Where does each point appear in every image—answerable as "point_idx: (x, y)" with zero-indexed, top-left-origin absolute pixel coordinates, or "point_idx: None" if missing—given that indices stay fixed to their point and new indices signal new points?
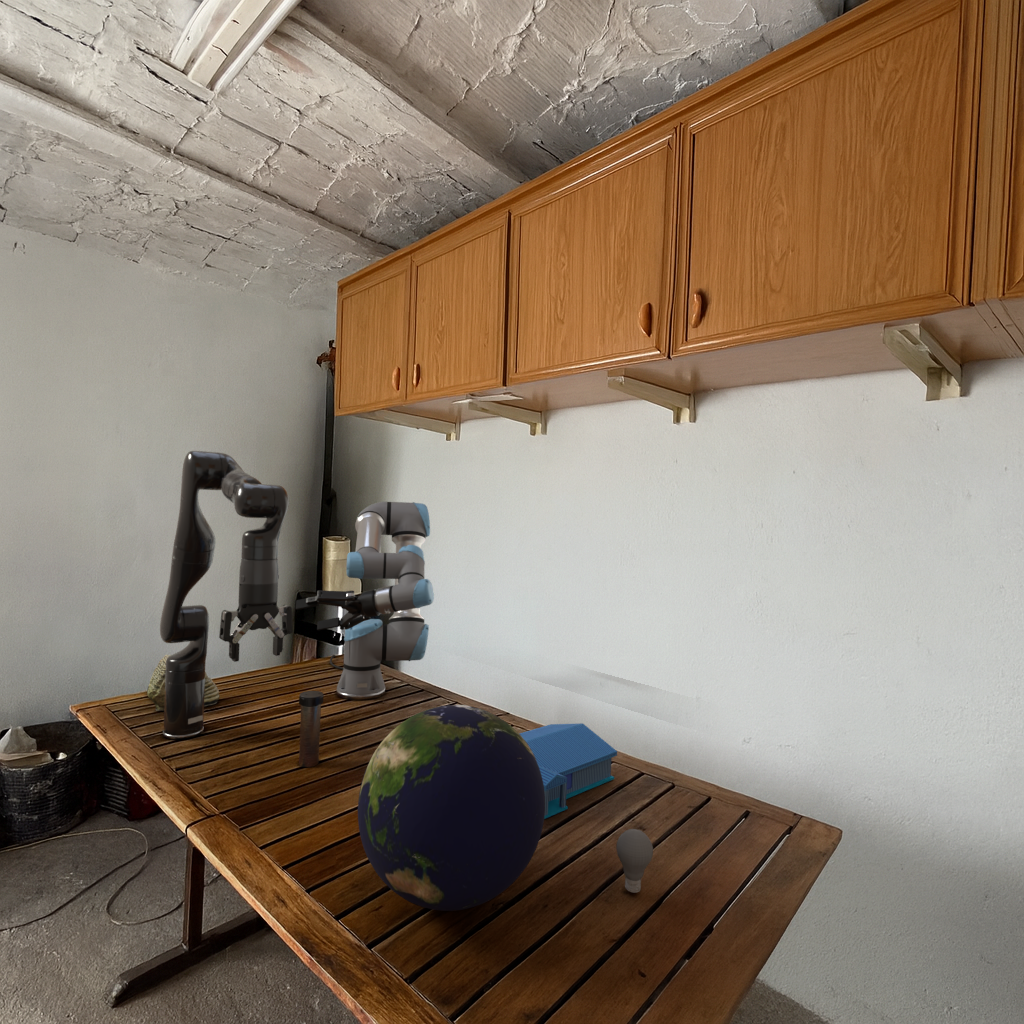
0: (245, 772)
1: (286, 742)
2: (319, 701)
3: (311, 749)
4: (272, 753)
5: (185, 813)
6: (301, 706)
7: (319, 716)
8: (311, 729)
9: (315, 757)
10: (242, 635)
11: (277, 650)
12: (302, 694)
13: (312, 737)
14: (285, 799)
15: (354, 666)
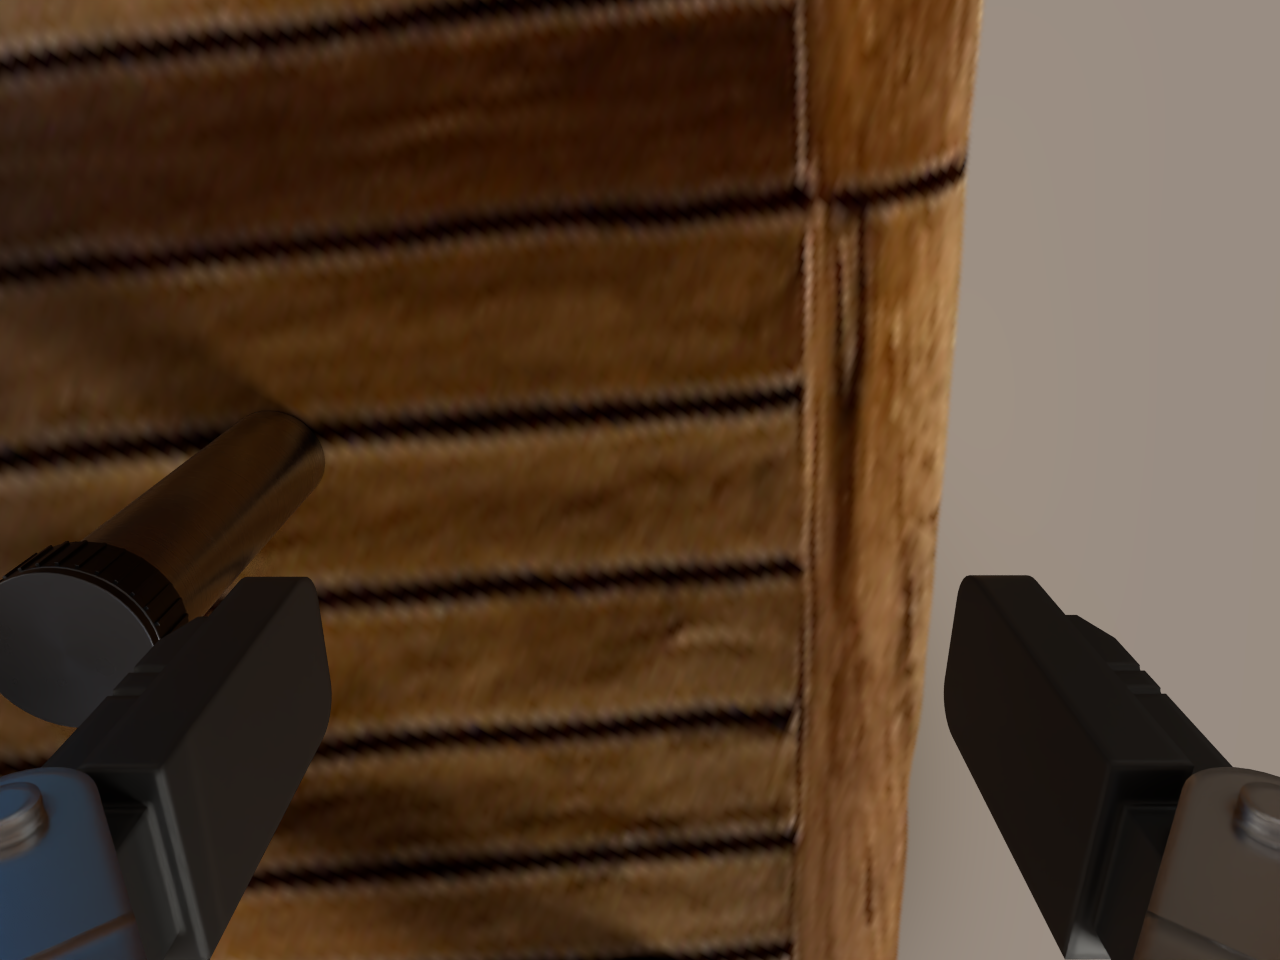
0: (565, 533)
1: None
2: (41, 557)
3: (244, 441)
4: (393, 651)
5: (924, 297)
6: None
7: (101, 525)
8: (195, 487)
9: (239, 425)
10: (1163, 915)
11: (266, 613)
12: None
13: (210, 465)
14: (513, 140)
15: None
